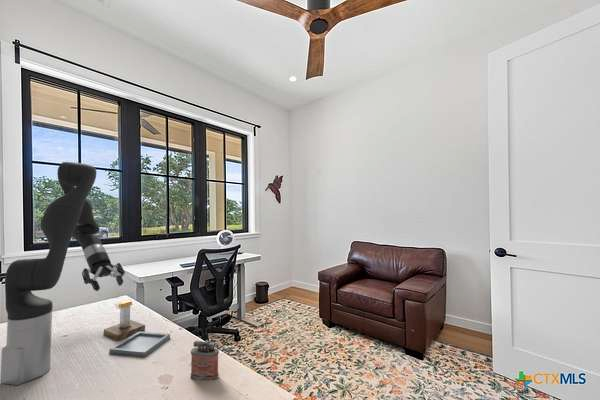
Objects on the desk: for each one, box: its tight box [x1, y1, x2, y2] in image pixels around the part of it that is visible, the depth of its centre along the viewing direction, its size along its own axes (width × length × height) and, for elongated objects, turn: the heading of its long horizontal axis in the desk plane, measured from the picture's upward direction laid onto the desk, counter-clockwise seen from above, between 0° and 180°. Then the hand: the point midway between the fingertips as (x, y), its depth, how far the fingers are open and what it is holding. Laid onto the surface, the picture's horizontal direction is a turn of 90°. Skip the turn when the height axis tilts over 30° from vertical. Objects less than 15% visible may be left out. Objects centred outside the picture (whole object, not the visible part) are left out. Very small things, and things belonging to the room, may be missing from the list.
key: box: [118, 300, 133, 330], centre depth 104 cm, size 4×2×12 cm, turn 151°
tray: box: [109, 331, 171, 358], centre depth 94 cm, size 13×13×2 cm
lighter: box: [190, 339, 220, 382], centre depth 76 cm, size 8×3×10 cm, turn 84°
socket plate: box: [103, 319, 146, 341], centre depth 104 cm, size 10×10×2 cm
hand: (110, 287), depth 110 cm, fingers open, 8 cm apart
